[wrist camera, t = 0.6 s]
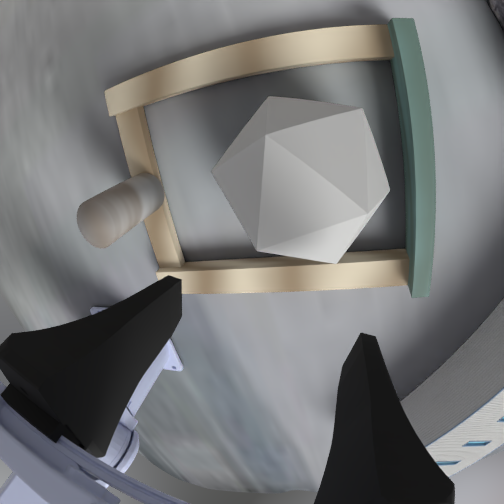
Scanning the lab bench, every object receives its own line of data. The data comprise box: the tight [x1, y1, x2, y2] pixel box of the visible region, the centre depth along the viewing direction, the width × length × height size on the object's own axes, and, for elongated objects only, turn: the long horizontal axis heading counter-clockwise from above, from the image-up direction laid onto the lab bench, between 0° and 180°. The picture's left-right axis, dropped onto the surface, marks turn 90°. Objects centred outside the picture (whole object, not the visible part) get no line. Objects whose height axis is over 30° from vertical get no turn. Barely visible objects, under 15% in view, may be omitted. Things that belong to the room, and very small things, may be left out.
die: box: [211, 96, 390, 264], centre depth 16 cm, size 8×9×10 cm
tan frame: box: [77, 18, 436, 298], centre depth 17 cm, size 20×16×7 cm
